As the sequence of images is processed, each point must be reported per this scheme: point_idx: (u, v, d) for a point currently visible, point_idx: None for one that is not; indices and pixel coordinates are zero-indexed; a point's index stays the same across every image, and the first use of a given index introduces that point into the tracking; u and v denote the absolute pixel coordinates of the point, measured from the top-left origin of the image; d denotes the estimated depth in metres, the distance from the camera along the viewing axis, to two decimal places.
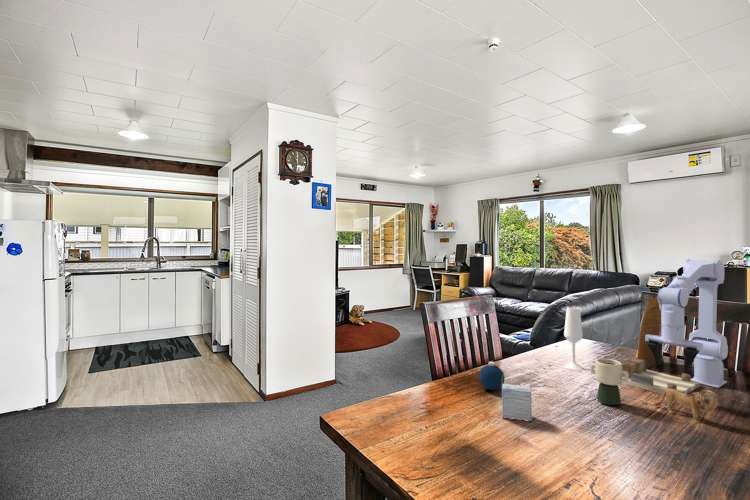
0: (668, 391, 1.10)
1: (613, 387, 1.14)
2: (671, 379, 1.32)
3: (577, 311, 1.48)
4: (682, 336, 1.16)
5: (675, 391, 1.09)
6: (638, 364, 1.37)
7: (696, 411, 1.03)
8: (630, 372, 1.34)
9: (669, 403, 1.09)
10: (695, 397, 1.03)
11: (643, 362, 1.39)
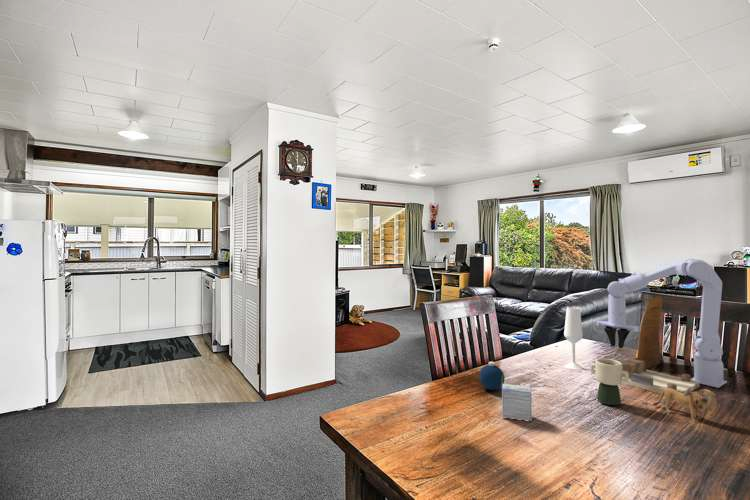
0: (666, 390, 1.10)
1: (613, 387, 1.14)
2: (671, 379, 1.32)
3: (577, 311, 1.48)
4: (623, 321, 1.43)
5: (673, 390, 1.09)
6: (638, 364, 1.37)
7: (694, 410, 1.04)
8: (630, 372, 1.34)
9: (667, 402, 1.10)
10: (694, 396, 1.04)
11: (643, 362, 1.39)
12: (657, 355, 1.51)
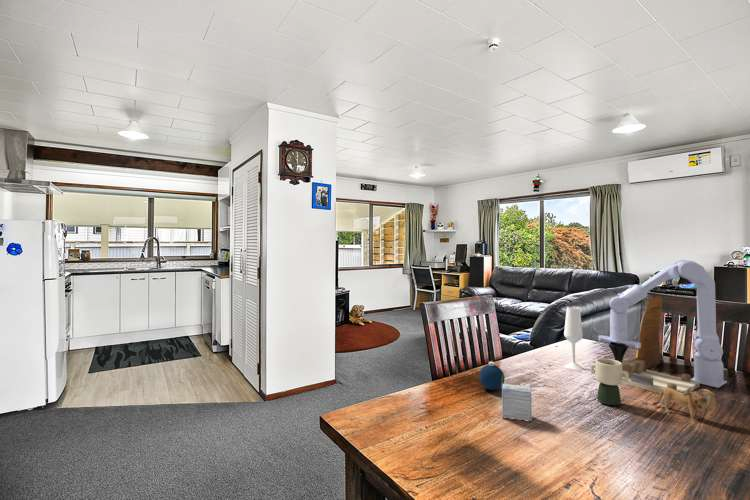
0: (665, 390, 1.11)
1: (613, 387, 1.14)
2: (671, 379, 1.32)
3: (577, 311, 1.48)
4: (625, 336, 1.43)
5: (672, 390, 1.09)
6: (638, 364, 1.37)
7: (693, 410, 1.04)
8: (630, 372, 1.34)
9: (666, 402, 1.10)
10: (693, 396, 1.04)
11: (643, 362, 1.39)
12: (657, 355, 1.51)
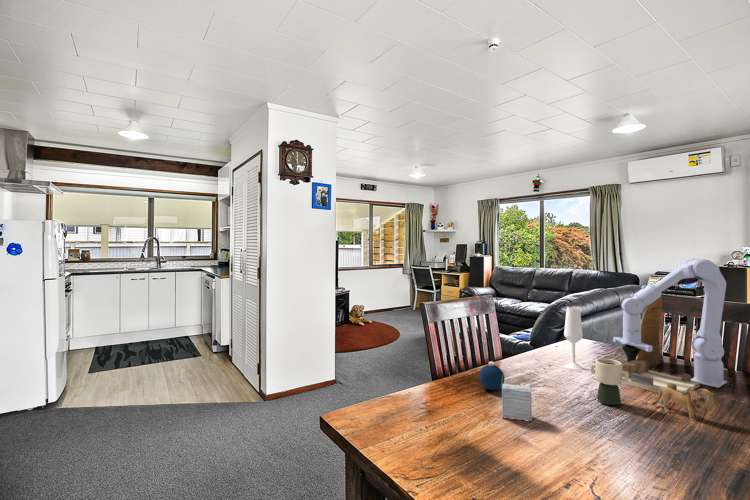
0: (664, 390, 1.11)
1: (613, 387, 1.14)
2: (671, 379, 1.32)
3: (577, 311, 1.48)
4: (637, 339, 1.39)
5: (671, 390, 1.10)
6: (639, 364, 1.37)
7: (692, 410, 1.04)
8: (630, 372, 1.34)
9: (665, 402, 1.10)
10: (692, 395, 1.04)
11: (645, 362, 1.39)
12: (657, 355, 1.51)
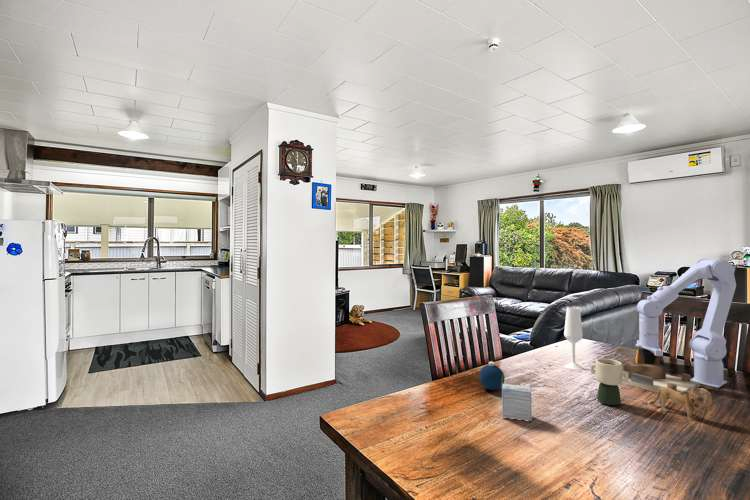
0: (662, 389, 1.11)
1: (613, 387, 1.14)
2: (671, 379, 1.32)
3: (577, 311, 1.48)
4: (650, 342, 1.33)
5: (669, 389, 1.10)
6: (646, 368, 1.33)
7: (690, 409, 1.04)
8: None
9: (663, 401, 1.10)
10: (690, 395, 1.05)
11: (659, 368, 1.32)
12: None
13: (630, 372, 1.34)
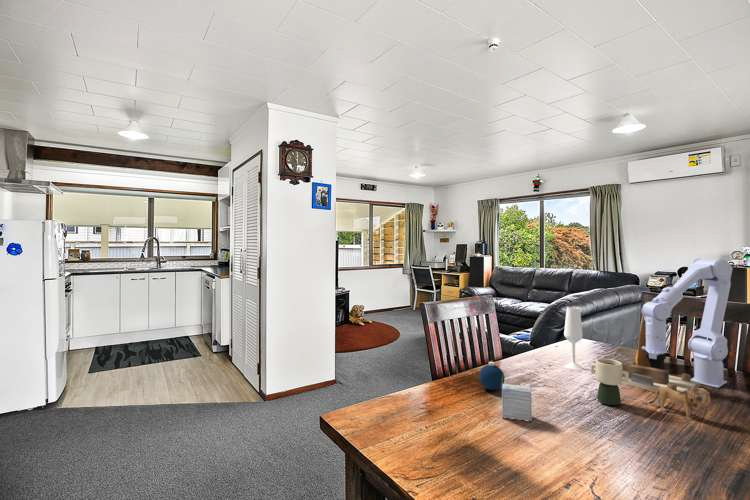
0: (661, 389, 1.11)
1: (613, 387, 1.14)
2: (671, 379, 1.32)
3: (577, 311, 1.48)
4: (651, 345, 1.30)
5: (668, 389, 1.10)
6: (645, 370, 1.30)
7: (689, 409, 1.05)
8: None
9: (662, 401, 1.11)
10: (688, 394, 1.05)
11: (660, 373, 1.28)
12: None
13: None
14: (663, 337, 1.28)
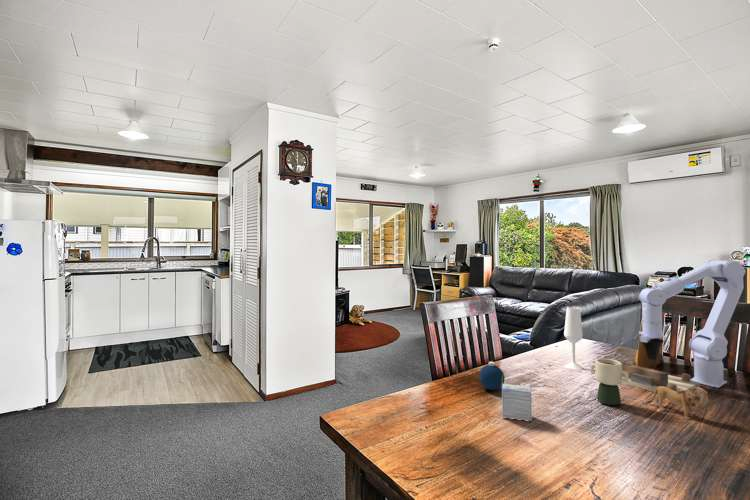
0: (659, 389, 1.12)
1: (613, 387, 1.14)
2: (671, 379, 1.32)
3: (577, 311, 1.48)
4: (646, 330, 1.34)
5: (666, 388, 1.11)
6: (642, 371, 1.30)
7: (687, 408, 1.05)
8: None
9: (660, 400, 1.11)
10: (686, 394, 1.05)
11: (656, 374, 1.26)
12: None
13: None
14: (658, 322, 1.32)
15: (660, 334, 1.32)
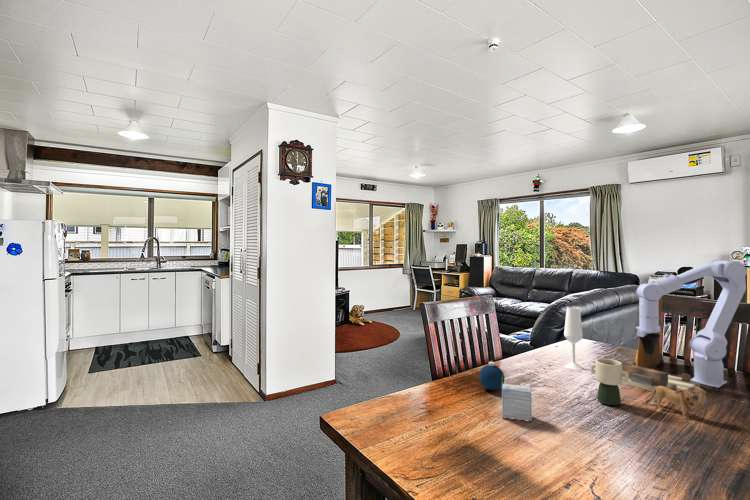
0: (658, 388, 1.12)
1: (613, 387, 1.14)
2: (671, 379, 1.32)
3: (577, 311, 1.48)
4: (643, 325, 1.35)
5: (665, 388, 1.11)
6: (642, 371, 1.30)
7: (685, 407, 1.05)
8: None
9: (659, 400, 1.11)
10: (685, 393, 1.06)
11: (656, 374, 1.26)
12: (657, 355, 1.51)
13: None
14: (654, 317, 1.33)
15: (657, 329, 1.34)
